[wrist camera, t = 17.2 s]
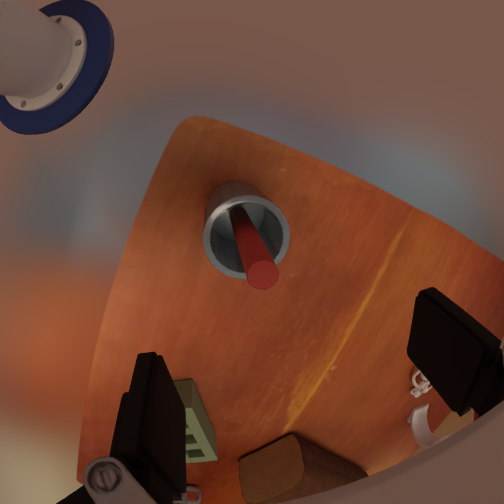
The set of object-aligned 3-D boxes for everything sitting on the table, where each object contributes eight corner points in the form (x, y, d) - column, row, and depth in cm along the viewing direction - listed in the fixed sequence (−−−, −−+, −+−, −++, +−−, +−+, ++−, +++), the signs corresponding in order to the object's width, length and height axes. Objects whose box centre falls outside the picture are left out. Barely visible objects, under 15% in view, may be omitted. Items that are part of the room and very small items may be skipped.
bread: (320, 491, 65) (332, 525, 52) (233, 459, 51) (241, 512, 39) (366, 467, 63) (382, 502, 50) (295, 427, 49) (313, 484, 37)
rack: (182, 438, 47) (182, 463, 41) (152, 383, 41) (148, 411, 35) (215, 434, 47) (218, 460, 42) (192, 378, 41) (191, 407, 36)
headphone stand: (427, 402, 55) (451, 436, 44) (419, 418, 57) (440, 450, 46) (413, 408, 55) (437, 443, 43) (405, 423, 57) (426, 457, 46)
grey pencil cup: (211, 247, 35) (212, 286, 26) (199, 187, 32) (194, 204, 23) (271, 236, 36) (293, 270, 26) (262, 176, 33) (284, 188, 24)
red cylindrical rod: (232, 226, 34) (251, 293, 19) (227, 209, 33) (242, 265, 18) (249, 221, 34) (281, 284, 19) (244, 204, 33) (274, 256, 18)
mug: (159, 486, 54) (158, 507, 47) (158, 476, 52) (157, 498, 45) (199, 490, 56) (200, 511, 49) (201, 480, 54) (202, 502, 47)
